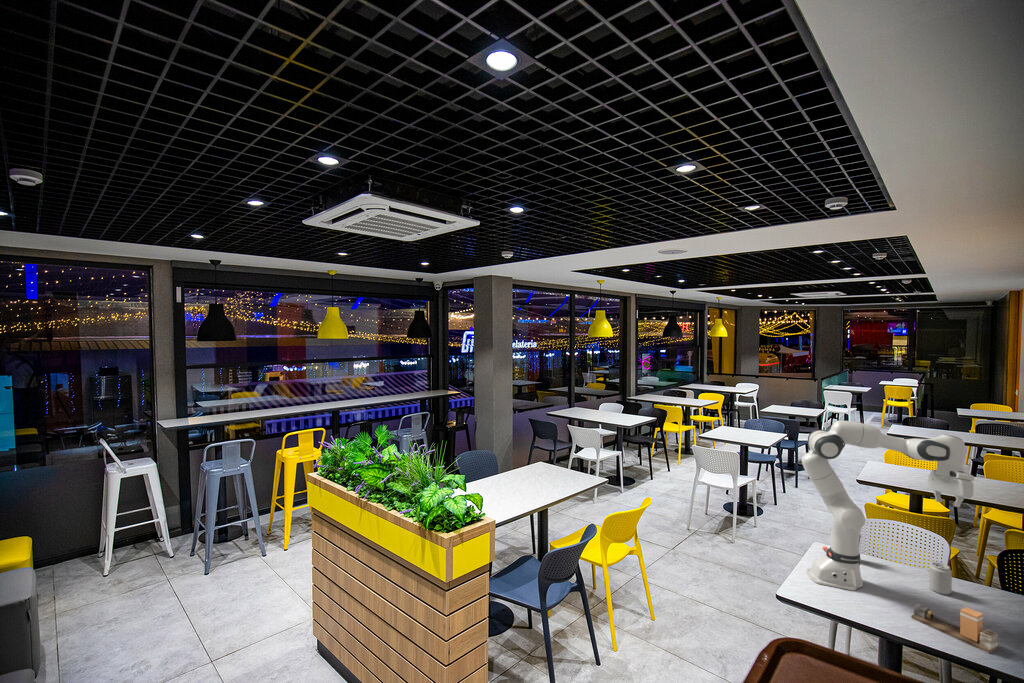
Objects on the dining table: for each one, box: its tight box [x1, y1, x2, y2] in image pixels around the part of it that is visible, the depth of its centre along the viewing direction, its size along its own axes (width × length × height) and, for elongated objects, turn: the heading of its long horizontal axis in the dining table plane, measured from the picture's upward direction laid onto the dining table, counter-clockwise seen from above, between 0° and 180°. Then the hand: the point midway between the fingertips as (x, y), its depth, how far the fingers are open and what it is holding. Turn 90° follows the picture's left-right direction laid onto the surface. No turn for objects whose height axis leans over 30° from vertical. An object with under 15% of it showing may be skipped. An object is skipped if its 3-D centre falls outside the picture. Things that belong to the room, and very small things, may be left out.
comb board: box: [910, 603, 1000, 654], centre depth 186 cm, size 24×8×6 cm, turn 25°
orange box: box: [959, 606, 984, 642], centre depth 181 cm, size 5×4×10 cm
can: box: [928, 562, 953, 596], centre depth 215 cm, size 8×8×12 cm
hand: (947, 504), depth 206 cm, fingers open, 8 cm apart
